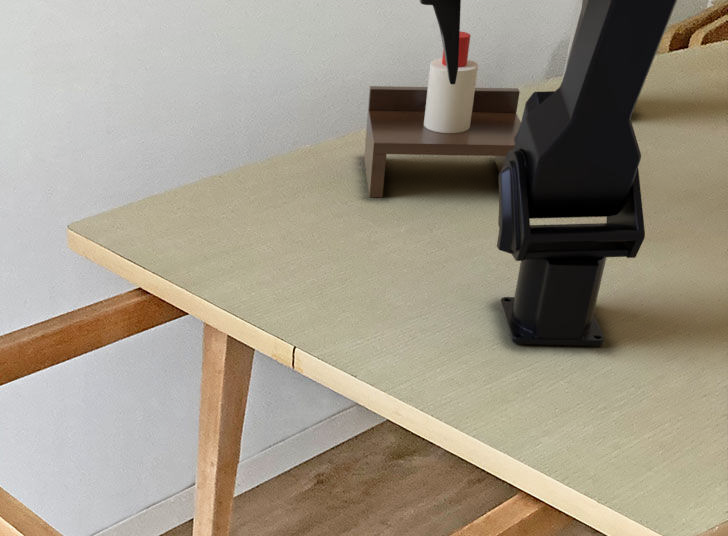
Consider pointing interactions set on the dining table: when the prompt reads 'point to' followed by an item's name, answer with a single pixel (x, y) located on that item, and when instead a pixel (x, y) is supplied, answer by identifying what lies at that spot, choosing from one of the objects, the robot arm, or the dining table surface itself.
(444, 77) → the seasoning bottle
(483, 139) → the spice rack
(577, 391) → the dining table surface
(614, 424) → the dining table surface
